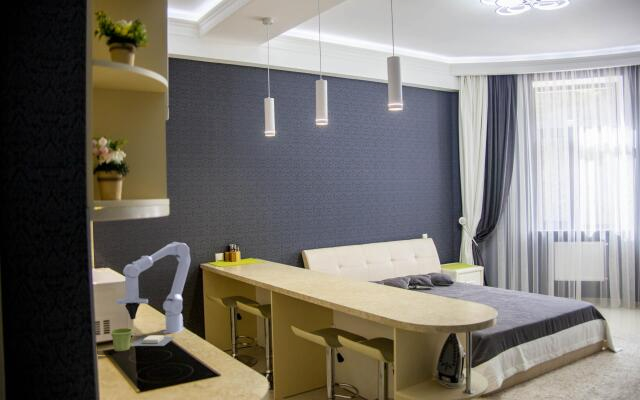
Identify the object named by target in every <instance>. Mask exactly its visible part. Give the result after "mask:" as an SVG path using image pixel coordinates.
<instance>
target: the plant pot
mask: <svg viewBox="0 0 640 400" xmlns="http://www.w3.org/2000/svg"><path fill="white" fill-rule="evenodd" d="M133 330H134V329H133V328H132V327H131V328H130V327H122V328H121V327H119V328H116V329H113V330H111V331H110V332H109V334H111V338H112V343H113V348H114V352H123V351H124V352H125V351H127V350H130V345H131V338H132V337H131V336H132V333H133Z"/></svg>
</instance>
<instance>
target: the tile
mask: <svg viewBox="0 0 640 400" xmlns="http://www.w3.org/2000/svg"><path fill="white" fill-rule="evenodd" d="M145 337H146V338H145V339H143V343H159V342H160V341H161V340H163V339H164V337H165V335H158V334H156V335H155V334H154V335H153V334H152V335H151V334H150V335H147V336H145Z"/></svg>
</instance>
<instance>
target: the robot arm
mask: <svg viewBox="0 0 640 400" xmlns="http://www.w3.org/2000/svg"><path fill="white" fill-rule="evenodd" d="M190 251H191V250H190V247H189V246H188V245H187V244H186V243H185V242H179V241H173V242H171V243H168V244H166V246H164V247H162V248H160V249H158V250H157V251H156V252H154V253H153V254H151V255H150V256H149V255H142V256H141V257H140V258H139V259H138V260H136V261H135V260H134V261H132V262H131V263H128V264H126V265H125V267H124V268H123V270H122V273H123V275H124V278H125V281H124V282H125V298H118V299H116V304H117V305H119V304H125V306H124V307H125V309H126V310H127V312H128V315H129V318H130V320H135V319H136V316H137V312H138V310H139V307H140V305H141V304H143V305H144V304H145V305H147V304H149V299H148V298H141V297H139V296H140V295H139V294H140V293H139V292H140V291H139V276H140V273H142V272H144V271H146V270H148V269H149V268H150V267H151V268H152V267H153V265H154V262H155V263H156V262H157V261H158V260H160V259H163V258H164V257H166V256H168V255H169V256H171V255H172V256H174V257H175V258H176V260H177V262H178V264H177V268H176V271H175V275H174V279H173V283H172V286H171V290H170V293H169V294H168V295H167V296H166V299H165V300H164V301H163V304H162V308H163V310H164V311H165V314H164V315H165V317H164V318H165V330H164V331H162V334H179V333H180V332H182V331H183V329H184V328H185V327H184V321H183V320H184V317H183V314H182V313H181V312H182V311H183V301H184V299H183V296H182V294H183V291H184V286H185V283H186V280H187V276H188V274H189V273H188V272H189V270H190V265H191V254H190ZM182 327H183V328H182ZM184 330H185V329H184Z"/></svg>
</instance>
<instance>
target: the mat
mask: <svg viewBox="0 0 640 400" xmlns="http://www.w3.org/2000/svg"><path fill="white" fill-rule="evenodd" d="M146 337H147V336H143V337H140V338H138V339H137V340H136V341H134V342H132V344H131V343H130V346H133V347H135V346H136V347H139V346H140V347H148V346H149V347H153V346H155V347H159V346H160V347H165V345H167V344H168V343H170V342H171V341H172V340H174V339H175V338H176V337H175V336H164V339H163V340H161V341H160V342H159V343H143V339H145V338H146Z"/></svg>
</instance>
